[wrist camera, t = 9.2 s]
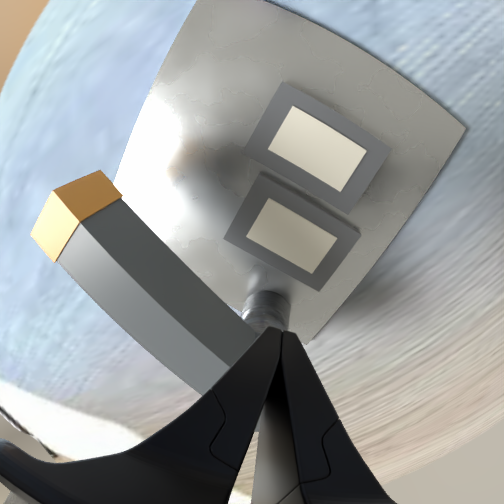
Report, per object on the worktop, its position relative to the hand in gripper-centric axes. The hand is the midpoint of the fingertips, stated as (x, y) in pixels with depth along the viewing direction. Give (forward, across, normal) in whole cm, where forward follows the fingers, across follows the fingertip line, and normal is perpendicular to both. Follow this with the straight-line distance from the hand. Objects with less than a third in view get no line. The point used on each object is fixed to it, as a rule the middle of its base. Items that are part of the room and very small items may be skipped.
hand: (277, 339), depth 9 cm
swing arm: (+4, +4, +3) cm, 7 cm away
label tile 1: (+9, 0, -4) cm, 10 cm away
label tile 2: (+9, 0, 0) cm, 9 cm away
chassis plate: (+9, +2, -2) cm, 10 cm away
